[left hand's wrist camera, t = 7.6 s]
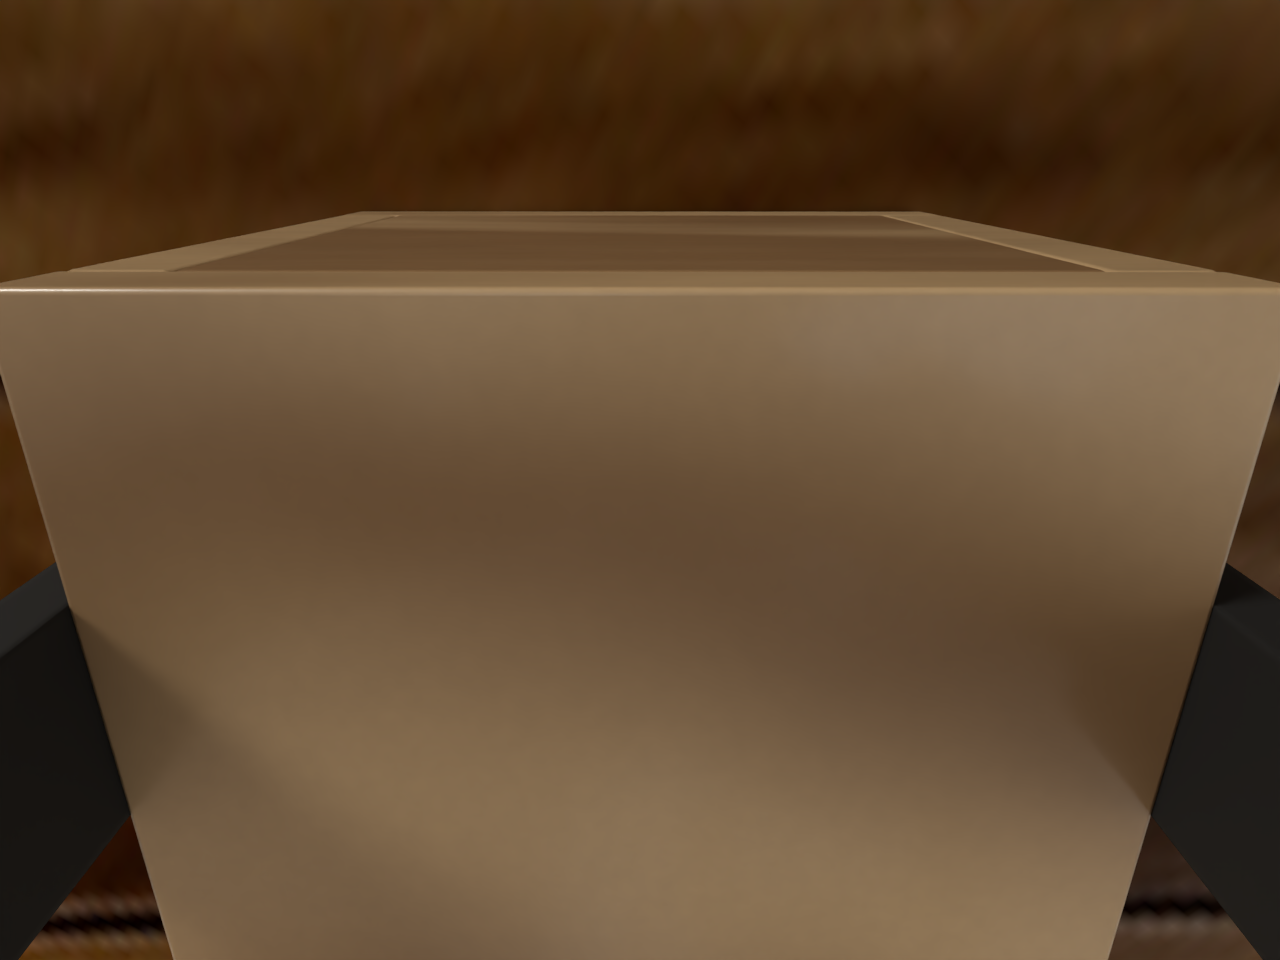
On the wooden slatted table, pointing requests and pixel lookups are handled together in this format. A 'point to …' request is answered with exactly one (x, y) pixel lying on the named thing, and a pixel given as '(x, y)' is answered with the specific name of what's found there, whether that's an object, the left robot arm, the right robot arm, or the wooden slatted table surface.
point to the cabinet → (640, 575)
